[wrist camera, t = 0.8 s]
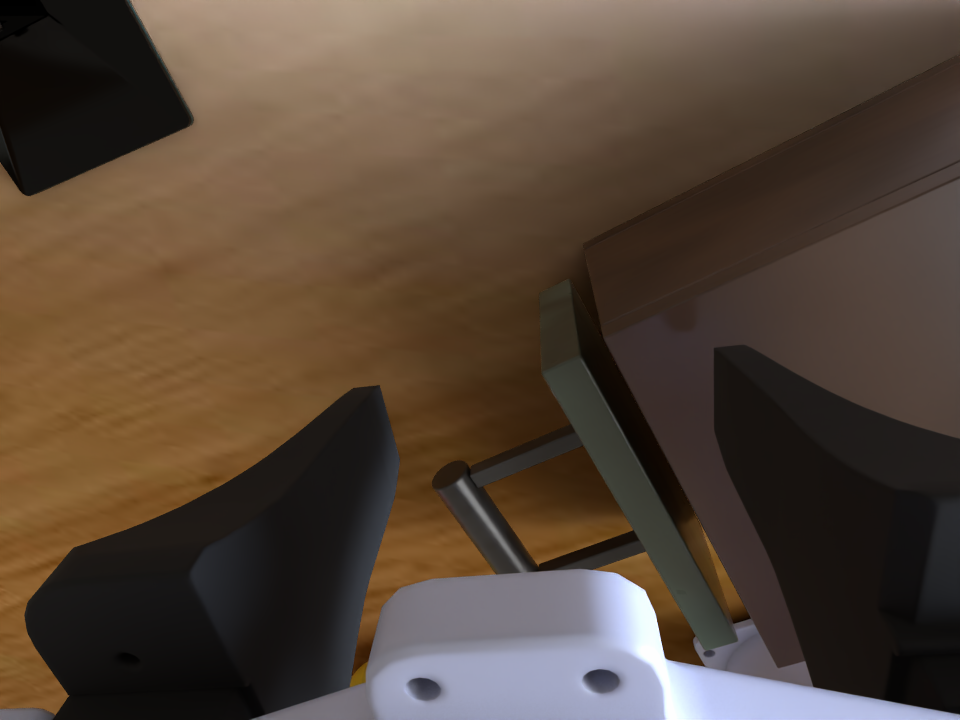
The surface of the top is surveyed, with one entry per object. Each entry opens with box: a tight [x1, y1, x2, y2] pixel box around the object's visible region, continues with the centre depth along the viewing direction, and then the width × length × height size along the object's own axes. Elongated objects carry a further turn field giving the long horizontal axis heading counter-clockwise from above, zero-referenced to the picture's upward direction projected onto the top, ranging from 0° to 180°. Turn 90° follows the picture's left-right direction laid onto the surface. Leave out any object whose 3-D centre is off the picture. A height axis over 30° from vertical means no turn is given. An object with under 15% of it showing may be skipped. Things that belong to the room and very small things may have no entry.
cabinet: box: [583, 55, 960, 668], centre depth 19 cm, size 15×13×7 cm
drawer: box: [432, 279, 738, 651], centre depth 21 cm, size 20×12×6 cm, turn 119°
